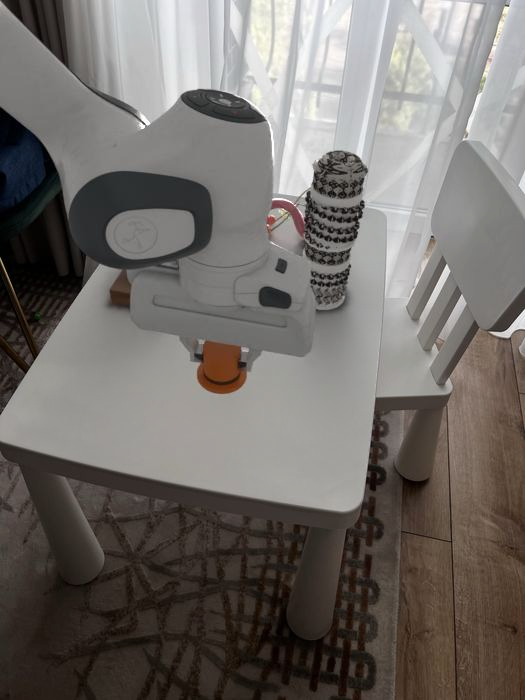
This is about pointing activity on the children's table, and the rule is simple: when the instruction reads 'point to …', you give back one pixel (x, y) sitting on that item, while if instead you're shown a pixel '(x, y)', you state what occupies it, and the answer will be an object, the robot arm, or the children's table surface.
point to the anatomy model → (293, 212)
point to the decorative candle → (333, 223)
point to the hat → (220, 368)
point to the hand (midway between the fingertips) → (222, 363)
